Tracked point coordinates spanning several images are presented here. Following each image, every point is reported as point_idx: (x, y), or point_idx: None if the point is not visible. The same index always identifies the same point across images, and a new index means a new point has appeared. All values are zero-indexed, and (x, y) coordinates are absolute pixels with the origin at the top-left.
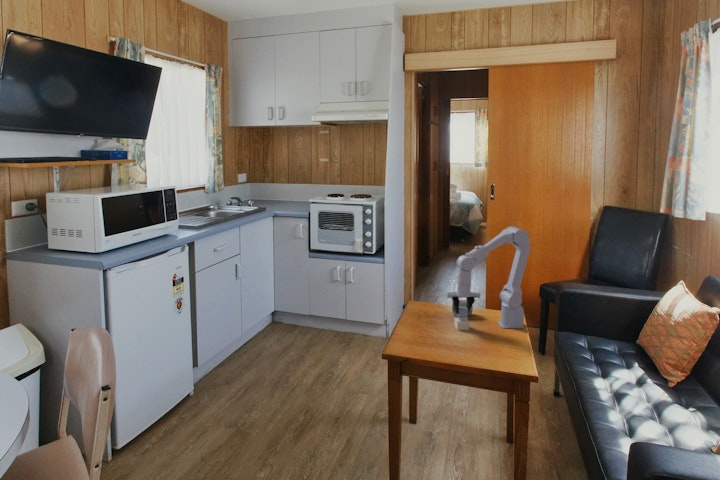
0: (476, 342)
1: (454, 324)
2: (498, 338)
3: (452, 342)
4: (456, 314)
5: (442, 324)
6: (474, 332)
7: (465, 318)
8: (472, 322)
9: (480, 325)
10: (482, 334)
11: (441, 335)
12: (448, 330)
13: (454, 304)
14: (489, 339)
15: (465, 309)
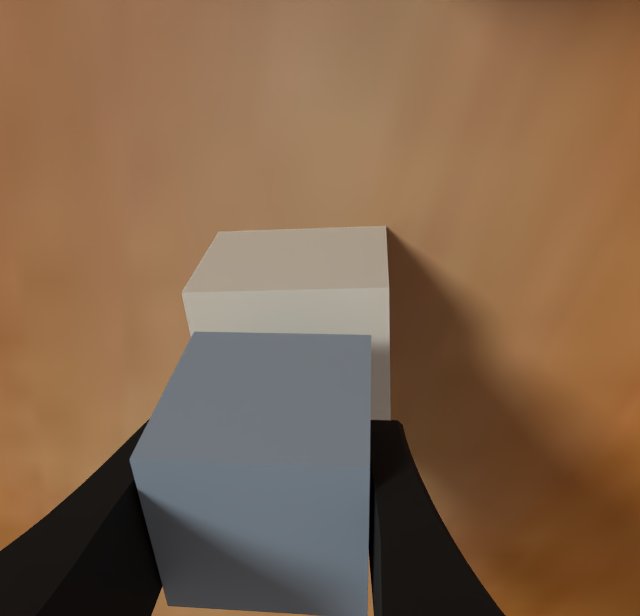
0: (373, 612)
1: (213, 247)
2: (635, 566)
3: (161, 599)
4: (190, 342)
5: (47, 177)
6: (436, 434)
7: (367, 334)
8: (560, 79)
9: (633, 219)
10: (509, 482)
11: (58, 482)
12: (132, 374)
13: (29, 552)
14: (526, 577)
15: (308, 609)
